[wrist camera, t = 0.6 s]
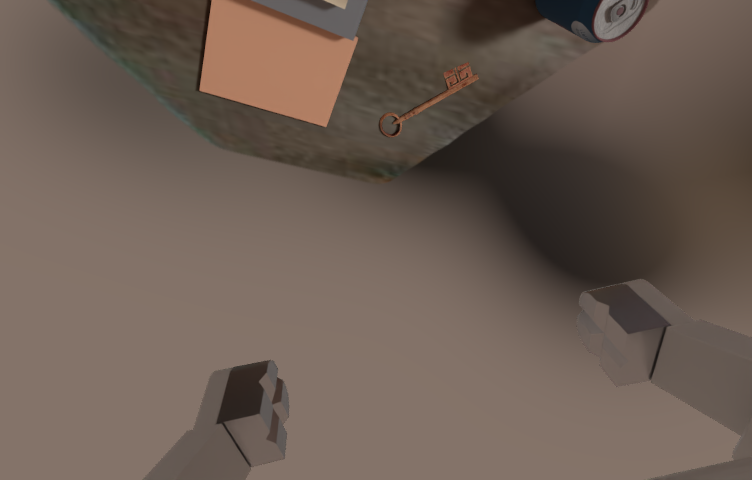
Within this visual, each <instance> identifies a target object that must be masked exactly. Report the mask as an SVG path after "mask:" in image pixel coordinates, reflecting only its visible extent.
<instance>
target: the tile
mask: <svg viewBox="0 0 752 480" xmlns="http://www.w3.org/2000/svg"><path fill="white" fill-rule="evenodd" d="M324 1H327V2H329V3H331V4H334V5H336V6H338V7H340V8H343V9H345V7H346V4H347V1H348V0H324Z"/></svg>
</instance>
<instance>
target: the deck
mask: <svg viewBox="0 0 752 480" xmlns="http://www.w3.org/2000/svg"><path fill="white" fill-rule="evenodd" d="M252 1H254V2H257V3H259V4H262V5H264V6H267V7H269V8H272V9H274V10H277V11H279V12H282V13H284V14H287V15H289V16H292V17H294V18H297V19H299V20H302V21H304V22H307V23H309V24H312V25H314V26H317V27H319V28H322V29H324V30H327V31H329V32H332V33H334V34H337V35H339V36H342V37H344V38H347V39H349V40H352V41H354V38H355V35H356V32H357V29H358V26H359V24H360V21H361V18H362V15H363V12H364V10H365V7H366V4H367V1H368V0H348V1H347V4H346V7H345V9H343V8H340V7H338V6H336V5H334V4H331V3H329V2H327V1H324V0H252Z"/></svg>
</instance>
